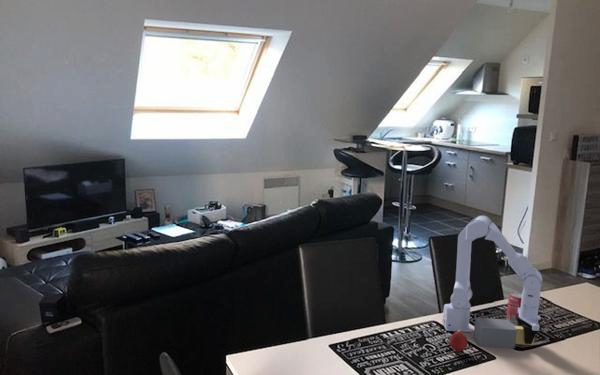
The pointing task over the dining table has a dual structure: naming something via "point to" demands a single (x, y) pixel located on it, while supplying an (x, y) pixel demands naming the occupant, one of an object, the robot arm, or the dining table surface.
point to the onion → (458, 341)
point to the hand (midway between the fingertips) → (525, 340)
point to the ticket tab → (521, 336)
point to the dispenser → (495, 333)
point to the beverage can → (513, 307)
